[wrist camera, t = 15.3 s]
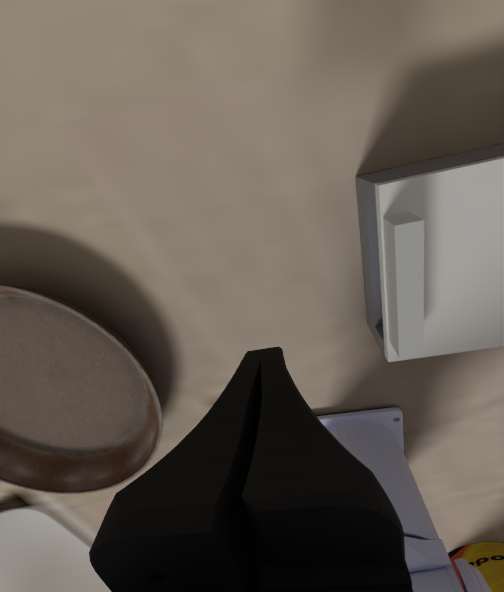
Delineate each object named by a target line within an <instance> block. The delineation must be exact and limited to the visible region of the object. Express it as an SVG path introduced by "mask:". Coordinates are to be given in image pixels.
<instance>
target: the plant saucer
mask: <svg viewBox="0 0 504 592" xmlns="http://www.w3.org/2000/svg"><path fill="white" fill-rule="evenodd" d="M162 430H163V419H162V411H161V406H160V402H159V398H158V395H157V392H156V389H155V386H154V384H153V382H152V379H151V377H150V375H149V373H148V372H147V370H146V368H145V367H144V365H143V364H142V362H141V361H140V359H139V358H138V356H137V355H136V354H135V353H134V351H133V350H132V349H131V348H130V347H129V345H128V344H127V343H126V342H125V341H124V340H123V339H122V338H121V337H120V336H119V335H118V334H117V333H115V332H114V331H113V330H112V329H111V328H109V327H108V326H107V325H105V324H104V323H103V322H102V321H100V320H99V319H97V318H96V317H94V316H93V315H91V314H89V313H88V312H86V311H84V310H82V309H80V308H79V307H77V306H75V305H73V304H70V303H68V302H66V301H63V300H61V299H59V298H56V297H53V296H50V295H47V294H44V293H41V292H37V291H33V290H29V289H25V288H20V287H15V286H8V285H0V481H2V482H5V483H8V484H11V485H14V486H18V487H22V488H25V489H29V490H34V491H40V492H46V493H54V494H83V493H93V492H98V491H103V490H106V489H110V488H113V487H116V486H118V485H121V484H123V483H125V482H127V481H129V480H131V479H132V478H134V477H135V476H136V475H138V474H139V473H140V472H141V471H143V470H144V469H145V467H146V466H147V465H148V464H149V463H150V462H151V460H152V459H153V457H154V456H155V454H156V452H157V450H158V447H159V445H160V441H161V437H162Z"/></svg>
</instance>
